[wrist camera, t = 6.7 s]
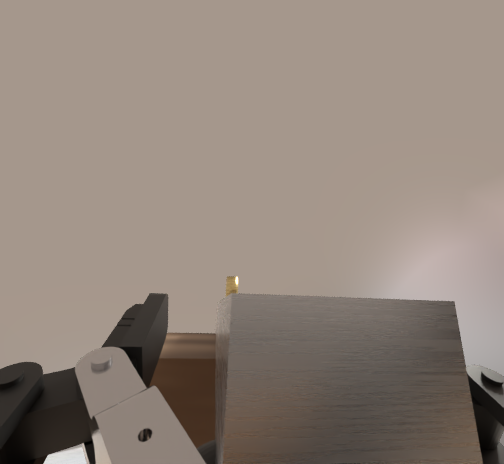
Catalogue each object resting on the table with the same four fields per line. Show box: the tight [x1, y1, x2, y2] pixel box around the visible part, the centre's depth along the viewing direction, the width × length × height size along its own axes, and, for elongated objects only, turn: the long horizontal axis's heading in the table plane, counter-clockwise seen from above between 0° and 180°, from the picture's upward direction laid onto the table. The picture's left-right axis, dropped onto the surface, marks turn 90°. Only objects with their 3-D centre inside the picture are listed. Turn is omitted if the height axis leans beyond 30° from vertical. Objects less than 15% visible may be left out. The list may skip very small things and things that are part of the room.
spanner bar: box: [215, 277, 483, 464], centre depth 18 cm, size 30×3×6 cm, turn 8°
